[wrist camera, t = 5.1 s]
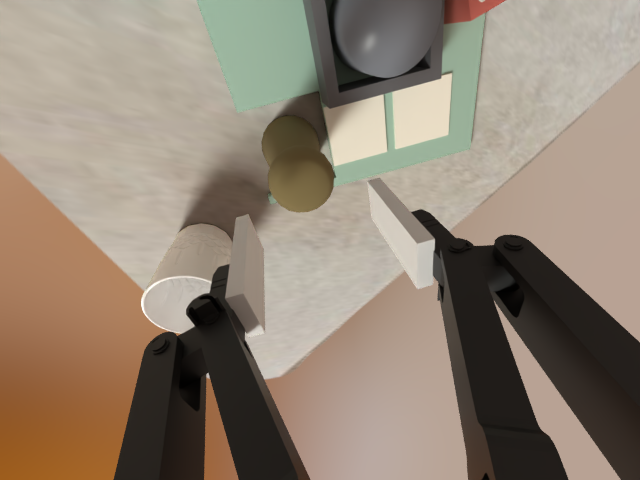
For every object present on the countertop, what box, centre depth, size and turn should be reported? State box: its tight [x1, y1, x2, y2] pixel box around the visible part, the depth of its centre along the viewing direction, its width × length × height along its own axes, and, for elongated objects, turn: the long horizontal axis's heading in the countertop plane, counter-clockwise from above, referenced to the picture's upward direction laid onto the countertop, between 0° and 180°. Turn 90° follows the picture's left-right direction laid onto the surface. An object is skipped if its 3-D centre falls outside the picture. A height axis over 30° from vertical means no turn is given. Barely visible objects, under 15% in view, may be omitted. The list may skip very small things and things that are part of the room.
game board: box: [197, 0, 485, 204], centre depth 25 cm, size 19×24×4 cm
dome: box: [329, 0, 442, 78], centre depth 21 cm, size 7×7×5 cm
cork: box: [262, 116, 334, 212], centre depth 25 cm, size 6×6×11 cm
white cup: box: [141, 223, 232, 333], centre depth 31 cm, size 8×8×10 cm
